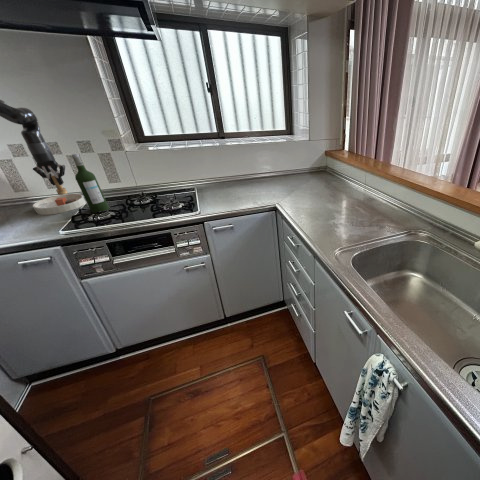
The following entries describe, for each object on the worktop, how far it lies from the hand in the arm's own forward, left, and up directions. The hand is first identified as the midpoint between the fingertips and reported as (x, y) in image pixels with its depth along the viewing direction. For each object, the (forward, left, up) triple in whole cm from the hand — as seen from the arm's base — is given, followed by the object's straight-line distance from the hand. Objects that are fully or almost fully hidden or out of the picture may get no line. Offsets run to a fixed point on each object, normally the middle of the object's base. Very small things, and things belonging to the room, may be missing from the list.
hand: (58, 184), depth 143 cm
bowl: (-3, -1, -13) cm, 13 cm away
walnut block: (+2, -2, -12) cm, 13 cm away
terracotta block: (-4, +3, -12) cm, 13 cm away
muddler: (0, 0, -5) cm, 5 cm away
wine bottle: (+19, -12, -13) cm, 26 cm away
